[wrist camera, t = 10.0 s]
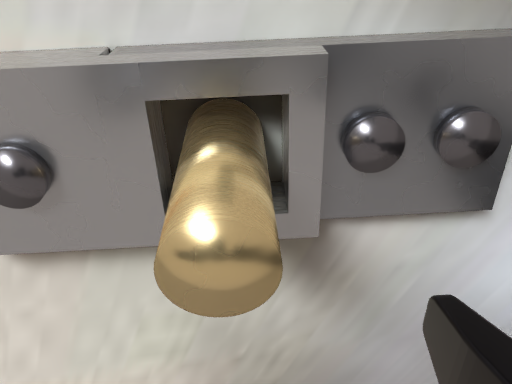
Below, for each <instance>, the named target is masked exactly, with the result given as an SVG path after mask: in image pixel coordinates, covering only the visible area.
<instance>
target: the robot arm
mask: <svg viewBox="0 0 512 384" xmlns="http://www.w3.org/2000/svg"><path fill="white" fill-rule="evenodd" d="M423 333H424V337H425V340H426V344H427V347H428V350H429V353H430V356H431V360H432V363H433V366H434V369H435V372H436V376H437V379H438V382H439V384H512V338H511V337H509V336H508V335H506V334H505V333H504V332H502V331H501V330H500V329H498V328H497V327H496V326H494V325H493V324H492V323H490V322H489V321H487V320H486V319H485V318H483V317H482V316H481V315H479V314H478V313H477V312H475V311H474V310H472V309H471V308H470V307H468V306H467V305H466V304H464V303H463V302H462V301H460V300H459V299H458V298H456V297H455V296H452V295H434V296H432V297H431V298H430V299H429V301H428V305H427V309H426V313H425V317H424V322H423Z"/></svg>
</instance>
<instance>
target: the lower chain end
mask: <svg viewBox="0 0 512 384" xmlns="http://www.w3.org/2000/svg"><path fill="white" fill-rule="evenodd" d="M314 45H322V46H323V48H324V49H325V50H326V51H327V52H328V54H329V55H328V74H327V93H326V112H325V130H324V149H323V168H322V187H321V206H320V219H331V218H349V217H367V216H385V215H403V214H421V213H439V212H457V211H475V210H492V207H493V204H494V201H495V197H496V194H497V191H498V188H499V184H500V181H501V178H502V174H503V171H504V168H505V165H506V161H507V158H508V155H509V152H510V148H511V145H512V29H495V30H473V31H451V32H429V33H408V34H386V35H364V36H342V37H320V38H298V39H277V40H255V41H233V42H211V43H189V44H167V45H146V46H124V47H116V48H115V49H114V50H113V51H112V52H111V53H110V54H109V55H119V54H141V53H162V52H184V51H206V50H227V49H249V48H271V47H292V46H314ZM153 105H154V111H155V117H156V123H157V129H158V135H159V141H160V147H161V153H162V159H163V165H164V171H165V177H166V183H167V189H168V195H169V199H170V195H171V191H172V187H173V182H172V175H171V169H170V163H169V156H168V150H167V144H166V137H165V131H164V124H163V118H162V112H161V105H160V100H155V101H153ZM270 185H271V191H272V197H285V94H282V182H270Z"/></svg>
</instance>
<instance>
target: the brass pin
mask: <svg viewBox="0 0 512 384" xmlns="http://www.w3.org/2000/svg"><path fill="white" fill-rule="evenodd" d="M282 271H283V266H282V258H281V251H280V244H279V238H278V231H277V225H276V218H275V211H274V205H273V198H272V191H271V185H270V178H269V172H268V165H267V158H266V152H265V145H264V138H263V132H262V126H261V123H260V121H259V119H258V117H257V115H256V114H255V113H254V111H253V110H252V109H251V108H249V107H248V106H247V105H245V104H243V103H242V102H239V101H237V100H233V99H225V98H221V99H215V100H211V101H208V102H206V103H204V104H203V105H201V106H200V107H198V108H197V109H196V110H195V112H194V113H193V114H192V116H191V117H190V119H189V122H188V125H187V129H186V133H185V138H184V142H183V146H182V150H181V154H180V158H179V162H178V166H177V171H176V175H175V179H174V183H173V187H172V191H171V195H170V199H169V204H168V208H167V212H166V216H165V220H164V224H163V228H162V232H161V237H160V241H159V245H158V249H157V253H156V257H155V261H154V275H155V279H156V282H157V284H158V286H159V288H160V290H161V291H162V293H163V294H164V295H165V296H166V297H167V298H168V299H169V300H170V301H171V302H172V303H174V304H175V305H177V306H178V307H180V308H182V309H184V310H186V311H188V312H191V313H194V314H198V315H202V316H207V317H229V316H235V315H240V314H243V313H246V312H249V311H251V310H253V309H255V308H257V307H259V306H260V305H262V304H263V303H265V302H266V301H267V300H268V299H269V298H270V297H271V296H272V295H273V294H274V292H275V291H276V289H277V288H278V286H279V284H280V281H281V278H282Z"/></svg>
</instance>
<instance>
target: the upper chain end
mask: <svg viewBox="0 0 512 384" xmlns="http://www.w3.org/2000/svg"><path fill="white" fill-rule="evenodd" d="M328 55H329V54H328V52H327V51H326V50H325V49H324V48H323V46H322V45H314V46H292V47H271V48H249V49H227V50H206V51H184V52H162V53H141V54H119V55H109V50H108V47H102V48H80V49H58V50H36V51H15V52H0V255H8V254H25V253H43V252H61V251H79V250H97V249H114V248H132V247H150V246H158V245H159V241H160V237H161V232H162V228H163V224H164V220H165V216H166V212H167V208H168V204H169V195H168V189H167V183H166V177H165V171H164V165H163V159H162V153H161V147H160V141H159V135H158V129H157V123H156V117H155V111H154V105H153V101H155V100H175V99H196V98H217V97H237V96H258V95H278V94H285V197H272V198H273V205H274V211H275V218H276V225H277V231H278V238H279V239H292V238H310V237H319V224H320V206H321V187H322V168H323V149H324V130H325V112H326V93H327V74H328Z"/></svg>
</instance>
